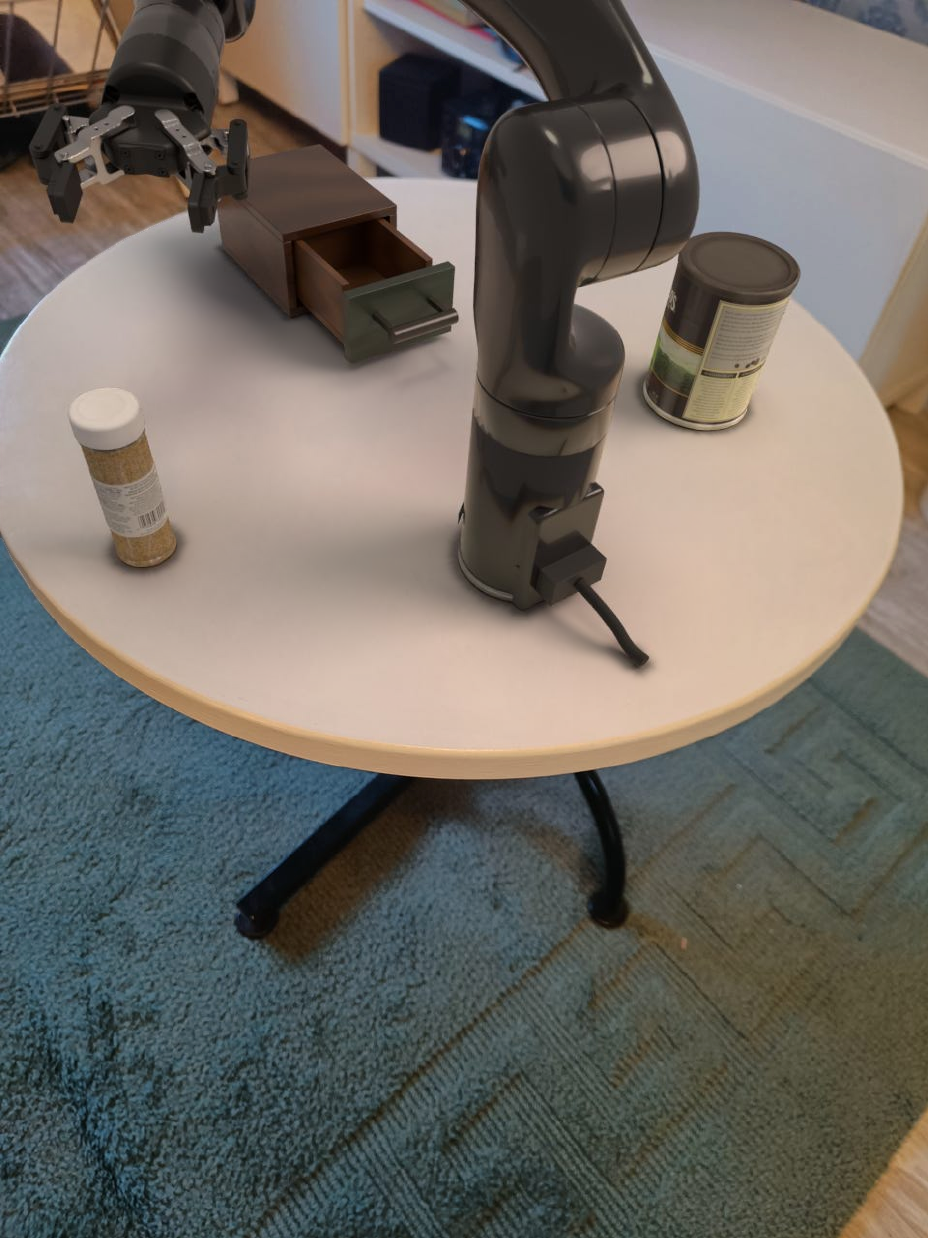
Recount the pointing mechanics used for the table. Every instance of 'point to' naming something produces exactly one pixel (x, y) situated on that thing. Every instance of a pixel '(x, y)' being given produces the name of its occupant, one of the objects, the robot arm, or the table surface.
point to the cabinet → (293, 214)
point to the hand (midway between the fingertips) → (129, 216)
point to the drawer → (373, 288)
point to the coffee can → (718, 328)
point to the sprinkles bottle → (123, 474)
